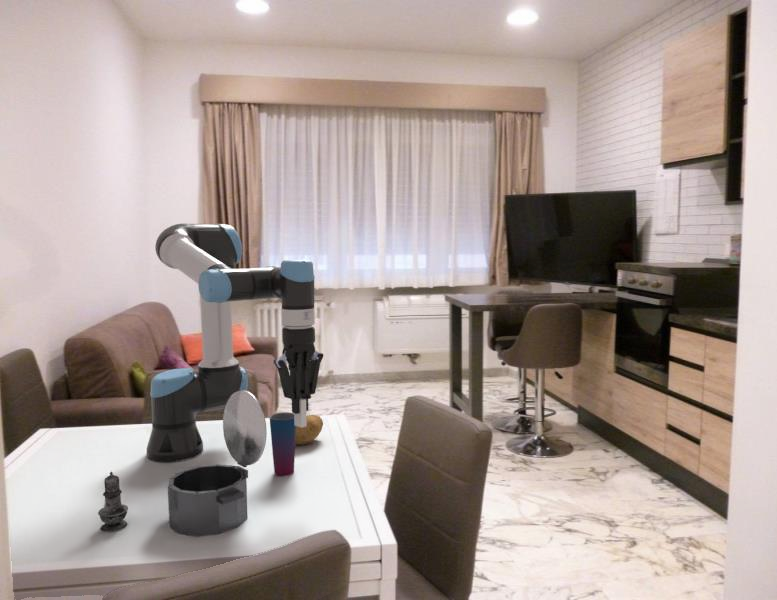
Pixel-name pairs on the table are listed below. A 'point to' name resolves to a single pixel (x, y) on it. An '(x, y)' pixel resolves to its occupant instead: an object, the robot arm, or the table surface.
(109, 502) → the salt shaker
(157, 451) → the robot arm
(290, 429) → the cup
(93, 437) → the table surface
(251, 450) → the lid
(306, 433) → the potato
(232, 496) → the pot
